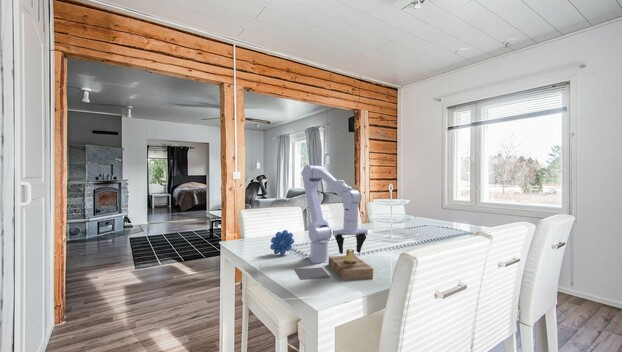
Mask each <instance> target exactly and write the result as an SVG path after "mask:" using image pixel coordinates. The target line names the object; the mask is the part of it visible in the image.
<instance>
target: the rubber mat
mask: <svg viewBox="0 0 622 352" xmlns="http://www.w3.org/2000/svg"><path fill="white" fill-rule="evenodd" d="M293 270H294V272H295V274H296V275H297V277H298V279H299V280H300V281H306V280H317V279H318V280H320V279H330V278H331V276H330V275H329V274H328V273H327V272H326V270H325V269H324V268H323V267H320V266H319V267H308V268H307V267H305V268H293Z"/></svg>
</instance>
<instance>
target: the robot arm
mask: <svg viewBox="0 0 622 352" xmlns="http://www.w3.org/2000/svg"><path fill="white" fill-rule="evenodd" d="M301 175H302V176H301V177H302V180H303V187H304V192H305V197H306V201H307V206H308V210H309V211H308V212H309V215H310V219H311V222H310V223H309V224H308V226H307V227H308V239H309V241H310V249H309V250H310V256H308V259H309V260H310V262H312V263H313V264H323V263H324V264H325V263H329V258H328V257H329V256H328V254H329V253H328V252H329V250H328V249H329V242H330V239H331V238H332V236H334V238H335V241H336V243H337V247H338V252H339V254H341V255H342V254H343V253H344V242H345V238H344V237H343V236H355V238H356V252H357V253H358V254H360V253H361V250H362V247H363V244H364V242H365V241H366V240H367V236H368V230H369V229H368V230H367V229H365V228H364V229H361V228H358V223H359V204H360V203H361V201H362V193H361V192H360V191H359V190H358V189H353V187H352V186H349V185H348V184H346V181H345V180H343V179H336V178H335V177H334V176H333V175H332V174H331V173H330V172H329V171H328V170H327V168H326V167H325V166H324V165H312V164H311V165H309V164H305V165H304V167H303V168H302V171H301ZM322 180H323V181H324V182H325V183H327V184H328V185H330V186H331V190H332V191H333V192H334V193H335V194H336V195H337V196H338V197H340V199H341V202H342V206H343V228H342V229H333V230H332V229H331V228H330V226H329V222H328V221H327V220H326V219H324V216H323V212H322V211H323V210H322V207H321V204H320V199H319V195H318V190H317V185H319V184H320V183H321V181H322Z"/></svg>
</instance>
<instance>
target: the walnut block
mask: <svg viewBox="0 0 622 352" xmlns="http://www.w3.org/2000/svg"><path fill="white" fill-rule="evenodd" d="M328 260H329V262H328V265H329V267H330V268H331V269H332V270H333V271H334V272H335V273H336V274H337V275H338V276H339V277H340V279H342V280H343V281H345V280H346V281H348V280H357V279H369V280H373V279H374V268H373V267H372V266H371V265H369V264H368V263H366V262H365V261H363V259H360V258H359V257H358V256H356V255H355V254H354V258H353V264H346V255H333V256H332V255H331V256H328Z"/></svg>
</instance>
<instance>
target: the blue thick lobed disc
mask: <svg viewBox="0 0 622 352" xmlns="http://www.w3.org/2000/svg"><path fill="white" fill-rule="evenodd" d="M293 237H294V234H293V232H289V231H288V229H287V230H286V229H284V230H282V231H277V232H276V233H275V236H273V237H272V238H271V239H270V242H271V244H270V250H273V253H274V255H278V254H280V255H283V256H284V255H285V254H286V252H287V251H288V252H290V251H291V250H292V247H293V246H292V245H294V244H295V239H294V238H293Z"/></svg>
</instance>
